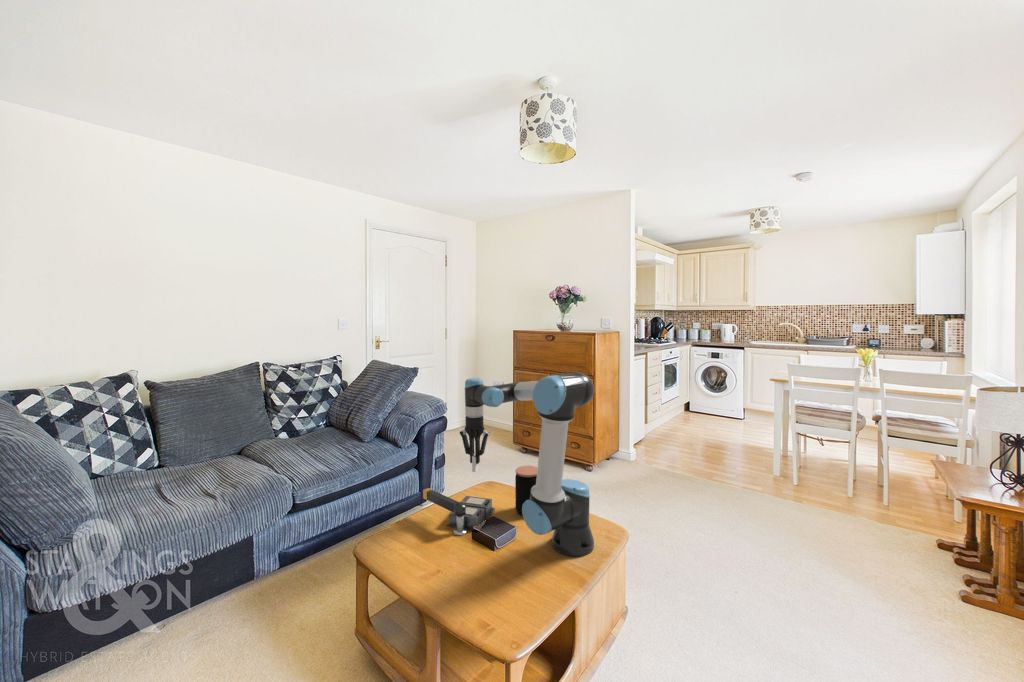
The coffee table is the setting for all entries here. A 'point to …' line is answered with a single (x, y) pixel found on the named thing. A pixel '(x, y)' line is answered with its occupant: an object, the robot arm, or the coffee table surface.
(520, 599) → the coffee table surface
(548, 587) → the coffee table surface
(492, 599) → the coffee table surface
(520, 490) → the coffee jar
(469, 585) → the coffee table surface
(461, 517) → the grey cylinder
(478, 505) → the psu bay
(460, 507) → the swing arm
